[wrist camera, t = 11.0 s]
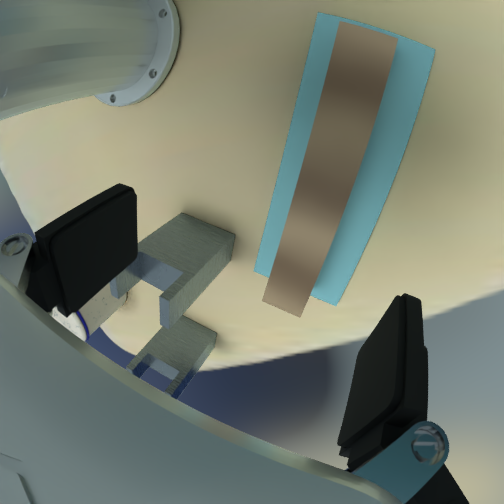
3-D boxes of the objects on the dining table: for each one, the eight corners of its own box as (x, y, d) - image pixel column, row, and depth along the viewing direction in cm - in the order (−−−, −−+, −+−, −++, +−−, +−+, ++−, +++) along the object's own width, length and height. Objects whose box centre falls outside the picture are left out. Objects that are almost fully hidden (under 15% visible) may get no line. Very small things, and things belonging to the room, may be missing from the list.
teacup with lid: (104, 245, 37) (37, 294, 28) (139, 302, 40) (82, 358, 30) (71, 261, 43) (18, 301, 34) (100, 308, 46) (52, 351, 37)
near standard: (181, 212, 29) (107, 266, 21) (235, 234, 27) (169, 301, 20) (179, 238, 30) (111, 294, 23) (230, 260, 29) (169, 329, 21)
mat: (319, 14, 16) (318, 12, 15) (434, 50, 14) (435, 49, 13) (256, 267, 28) (253, 271, 28) (337, 302, 27) (336, 306, 26)
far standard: (176, 311, 37) (126, 366, 29) (217, 332, 36) (171, 395, 28) (175, 327, 39) (129, 380, 31) (214, 347, 37) (171, 406, 29)
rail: (348, 33, 15) (339, 20, 12) (395, 49, 15) (398, 38, 11) (279, 273, 27) (262, 300, 24) (313, 287, 26) (300, 317, 23)
